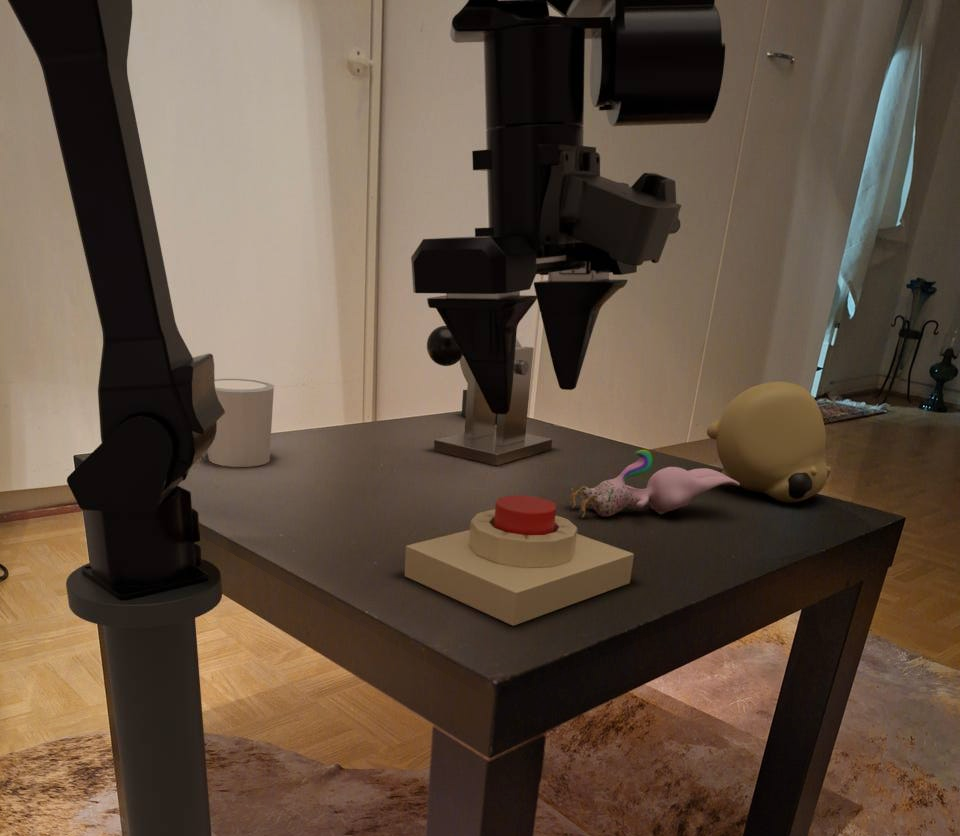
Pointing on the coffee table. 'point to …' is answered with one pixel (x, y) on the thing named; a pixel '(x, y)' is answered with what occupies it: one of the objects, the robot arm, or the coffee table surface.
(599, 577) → the control block
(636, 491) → the pink toy creature
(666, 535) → the coffee table surface
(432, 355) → the lever
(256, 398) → the white cup
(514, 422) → the switch bracket
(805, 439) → the tan animal figure
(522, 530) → the button
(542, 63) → the robot arm
